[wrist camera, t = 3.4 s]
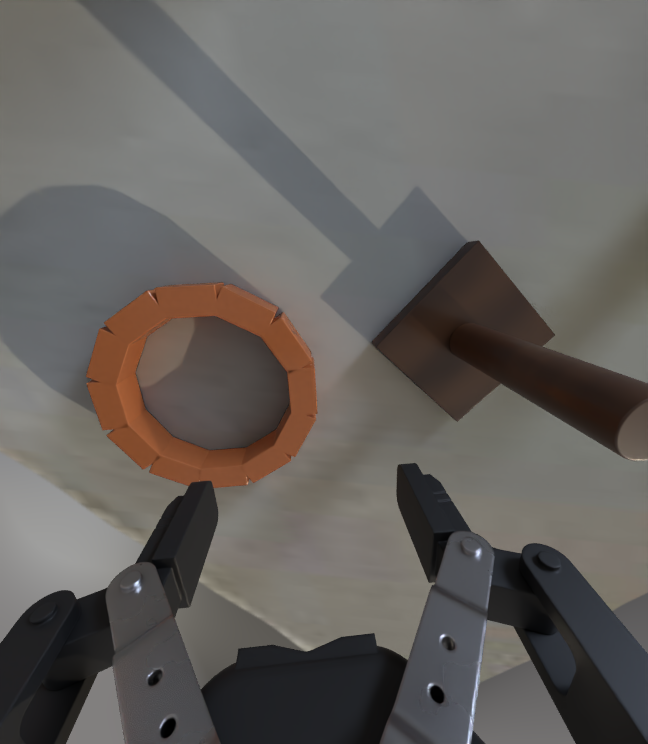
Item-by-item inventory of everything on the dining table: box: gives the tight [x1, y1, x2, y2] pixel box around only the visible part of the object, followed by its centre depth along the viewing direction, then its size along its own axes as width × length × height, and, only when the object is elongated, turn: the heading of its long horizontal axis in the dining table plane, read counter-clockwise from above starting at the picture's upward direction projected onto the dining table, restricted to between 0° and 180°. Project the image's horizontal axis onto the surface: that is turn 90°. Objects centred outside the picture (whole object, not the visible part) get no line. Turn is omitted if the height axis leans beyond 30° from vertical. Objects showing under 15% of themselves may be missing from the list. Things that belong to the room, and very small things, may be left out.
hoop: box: [86, 282, 317, 488], centre depth 23 cm, size 16×16×3 cm
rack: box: [372, 241, 648, 461], centre depth 18 cm, size 10×10×14 cm
